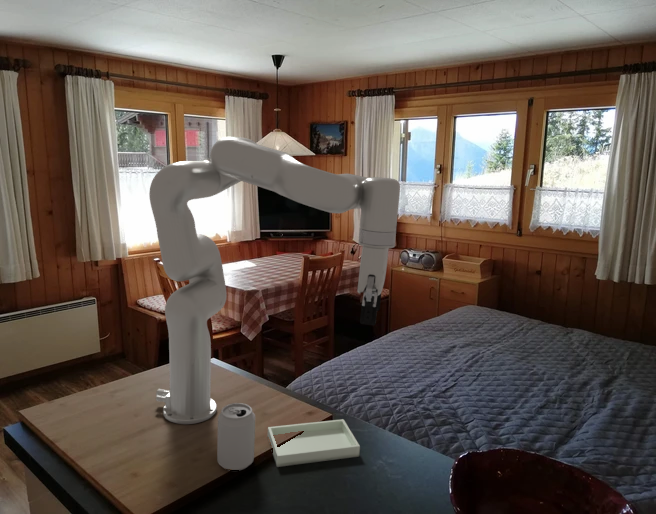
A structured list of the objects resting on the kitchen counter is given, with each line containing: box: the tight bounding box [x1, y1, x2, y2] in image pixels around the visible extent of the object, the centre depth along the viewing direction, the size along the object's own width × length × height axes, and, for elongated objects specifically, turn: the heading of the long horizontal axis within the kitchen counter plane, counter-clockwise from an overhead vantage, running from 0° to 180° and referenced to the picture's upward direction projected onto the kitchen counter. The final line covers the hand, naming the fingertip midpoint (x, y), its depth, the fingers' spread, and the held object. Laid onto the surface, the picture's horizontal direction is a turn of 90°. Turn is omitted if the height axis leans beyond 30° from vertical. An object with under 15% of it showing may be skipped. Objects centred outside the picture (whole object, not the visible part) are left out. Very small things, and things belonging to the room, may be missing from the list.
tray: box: [267, 418, 361, 468], centre depth 112 cm, size 18×11×2 cm, turn 107°
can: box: [216, 402, 256, 471], centre depth 104 cm, size 8×8×12 cm
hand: (370, 316), depth 108 cm, fingers open, 9 cm apart
